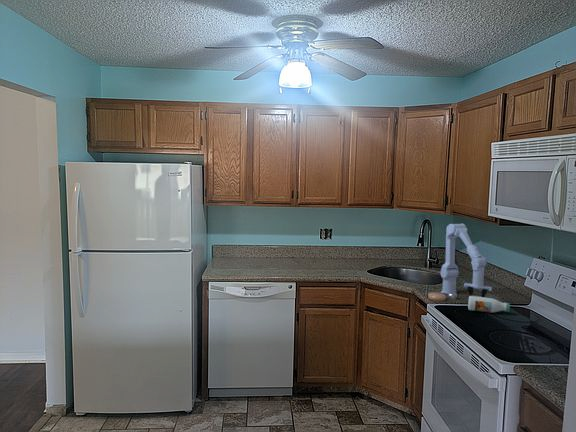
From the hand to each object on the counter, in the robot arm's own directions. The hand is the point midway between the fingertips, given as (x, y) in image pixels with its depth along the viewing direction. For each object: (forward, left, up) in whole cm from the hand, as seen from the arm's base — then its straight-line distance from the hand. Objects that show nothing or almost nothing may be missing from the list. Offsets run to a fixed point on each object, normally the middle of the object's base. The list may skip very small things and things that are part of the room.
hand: (476, 301), depth 243 cm
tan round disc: (+5, -21, -1) cm, 22 cm away
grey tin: (-2, -14, -2) cm, 14 cm away
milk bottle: (+15, -2, +2) cm, 15 cm away
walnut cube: (0, 0, -1) cm, 1 cm away
